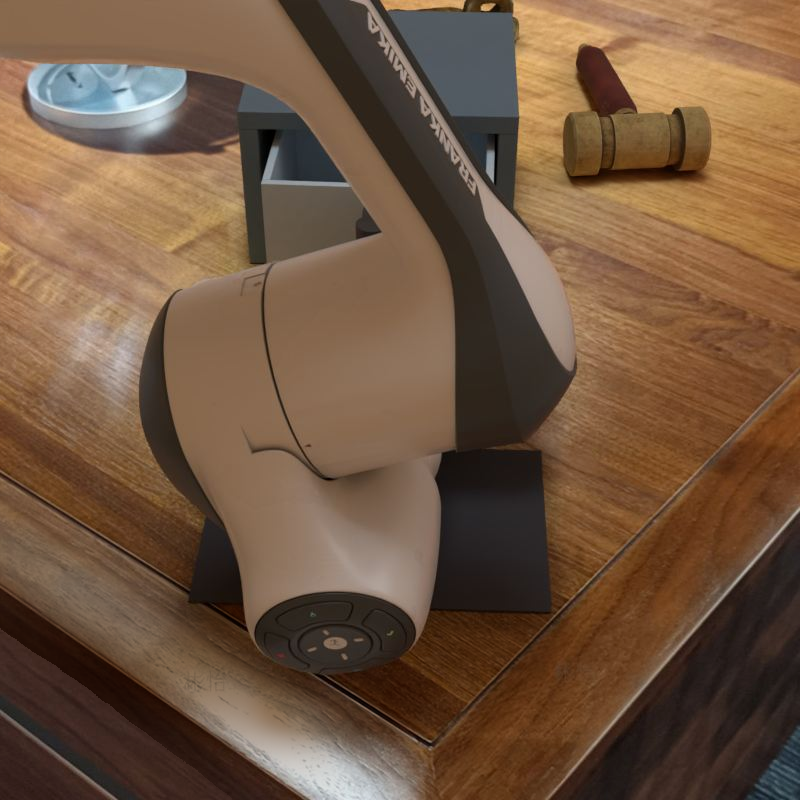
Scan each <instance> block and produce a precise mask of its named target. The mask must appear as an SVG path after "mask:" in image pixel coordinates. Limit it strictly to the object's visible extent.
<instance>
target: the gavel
mask: <svg viewBox="0 0 800 800" xmlns="http://www.w3.org/2000/svg"><path fill="white" fill-rule="evenodd" d="M576 53H577V54H576V55H577V56H576V59H575V68H576V70H577V72H578V74H579V75H580V77H581V79H582V81H583V83H584V85H585V86H586V88H587V91H588V92H589V95H590V96H591V98H592V100H593V101H594V103H595V105H596V107H597V109H598V111H599V113H600V115H601V117H599V114H598V112H597V111H595V110H592V111H591V110H588V111H587V110H586V111H570V112H568V113H567V115H566V117H565V119H564V123H563V130H562V154H563V161H564V165H565V169H566V171H567V173H568V174H569V176H571V177H578V176H579V177H581V176H596V175H598V173H599V171H600V169H608V170H609V171H614V170H615V171H616V170H637V169H654V168H655V169H657V168H665V167H666V166H671V165H672V168H673V169H674V170H675V171H676V172H683V171H685V172H686V171H701V170H704V169H705V167H706V166H707V164H708V162H709V159H710V156H711V151H712V126H711V125H712V124H711V121H710V117H709V114H708V113H707V111H706V109H705V108H704V107H703V106H701V105H699V106H678V107H675V108H673V110H672V112H671V113H669V114H666V113H665V112H662V111H661V112H645V113H643V112H641V113H639V112H638V107H637V105H636V103H635V102H634V100H633V99H632V97H631V94H629V92H628V90H627V88H626V87H625V85H624V84H623V81H622V80H621V78H620V77H619V75H618V73H617V72H616V70H615V68H614V67H613V65H612V63H611V61H610V60H609V58H608V57H607V55H606V53H605V52H604V50H603V49H601V48H600V47H597V46H593V45H591V44H588V43H584V42H583V43H581V44H580V45H579V46H578V49H577V52H576Z"/></svg>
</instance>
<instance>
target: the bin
mask: <svg viewBox="0 0 800 800" xmlns="http://www.w3.org/2000/svg"><path fill="white" fill-rule="evenodd" d="M462 134H463V136H464V138H465V139H466V141H467V142H468V144H469V146H470V147H471V149H472V151H473V152H474V154H475V155H476V157H477V159H478V160H479V162H480V163H481V165H482V167H483V168H484V170H485V171H486V173H487V174H488V176H489V177H490V179H491V180H492V181H493V183H494V155H495V134H486V133H462ZM261 191H262V205H263V218H264V232H265V246H266V259H267V263H270V262H273V261H283V260H287V259H290V258H294V257H297V256H301V255H304V254H308V253H311V252H315V251H318V250H322V249H326V248H329V247H333V246H336V245H340V244H343V243H347V242H350V241H354V240H357V239H361V238H364V237H368V236H372V235H375V234H378V233H381V230H380V229H379V227H378V226H377V224H376V223H375V221H374V220H373V219H372V217H371V216H370V214H369V213H368V211H367V210H366V208H365V207H364V206H363V204H362V203H361V201H360V200H359V198H358V197H357V196H356V194H355V193H354V191H353V190H352V188H351V187H350V185H349V184H348V183H347V181H346V180H345V178H344V177H343V175H342V174H341V172H340V171H339V170H338V168H337V167H336V165H335V164H334V162H333V161H332V160H331V158H330V157H329V155H328V154H327V152H326V151H325V149H324V148H323V147H322V145H321V144H320V142H319V141H318V139H317V138H316V136H315V135H314V134H313V132H312V131H311V130H280V129H276V133H275V136H274V140H273V143H272V147H271V150H270V154H269V157H268V161H267V165H266V168H265V172H264V175H263V179H262V182H261Z"/></svg>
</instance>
